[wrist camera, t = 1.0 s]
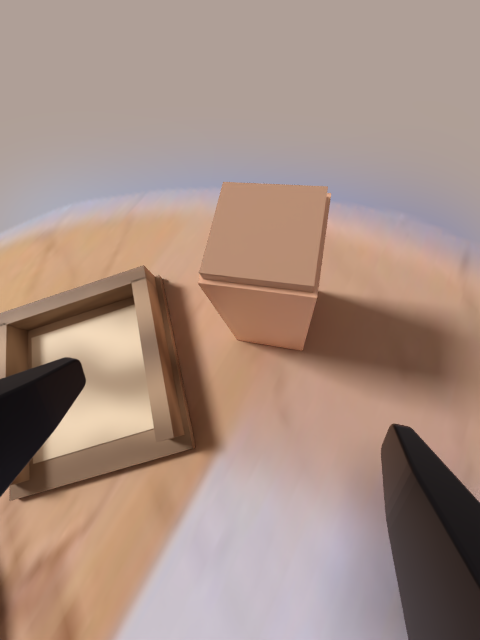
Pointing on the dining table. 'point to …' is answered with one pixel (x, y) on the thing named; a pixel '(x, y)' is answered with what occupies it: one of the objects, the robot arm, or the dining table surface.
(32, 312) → the square wooden tray
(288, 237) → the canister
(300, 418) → the dining table surface
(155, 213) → the dining table surface
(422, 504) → the robot arm
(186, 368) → the dining table surface
